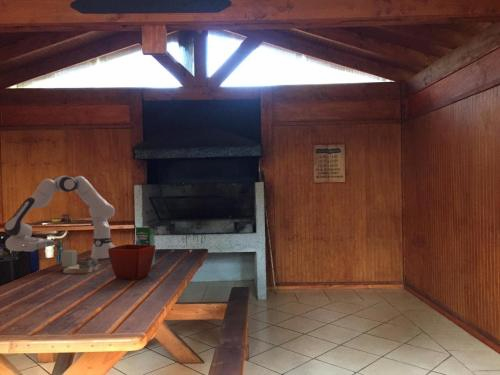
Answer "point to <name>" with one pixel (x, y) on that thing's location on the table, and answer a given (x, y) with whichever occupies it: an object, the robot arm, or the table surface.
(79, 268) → the dock
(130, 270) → the plant pot
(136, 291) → the table surface
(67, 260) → the pale green handled box
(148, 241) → the milk carton
